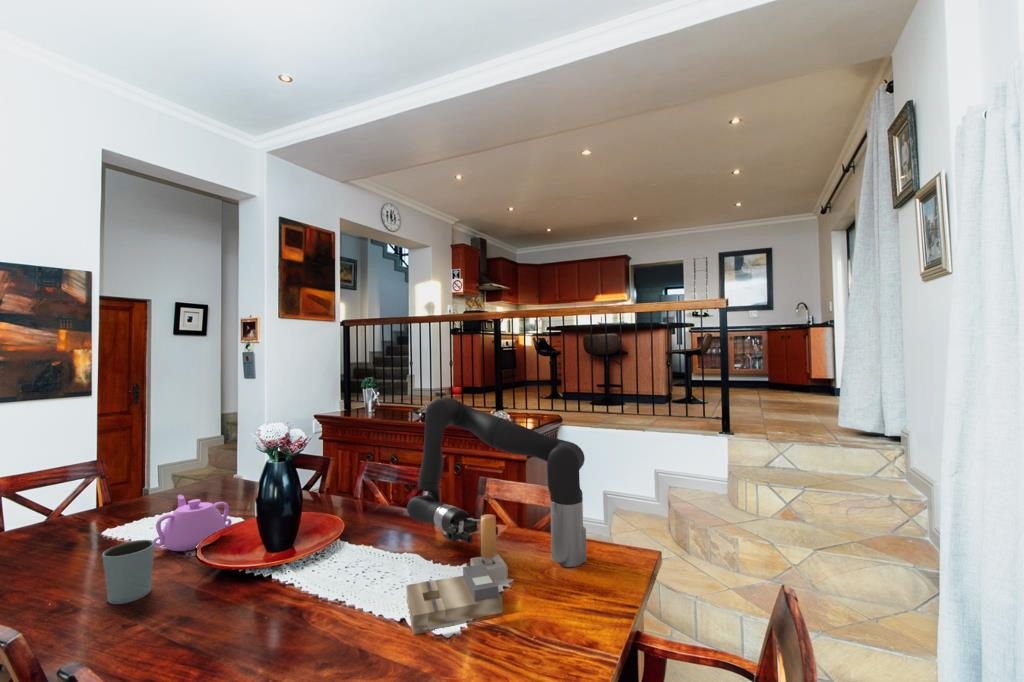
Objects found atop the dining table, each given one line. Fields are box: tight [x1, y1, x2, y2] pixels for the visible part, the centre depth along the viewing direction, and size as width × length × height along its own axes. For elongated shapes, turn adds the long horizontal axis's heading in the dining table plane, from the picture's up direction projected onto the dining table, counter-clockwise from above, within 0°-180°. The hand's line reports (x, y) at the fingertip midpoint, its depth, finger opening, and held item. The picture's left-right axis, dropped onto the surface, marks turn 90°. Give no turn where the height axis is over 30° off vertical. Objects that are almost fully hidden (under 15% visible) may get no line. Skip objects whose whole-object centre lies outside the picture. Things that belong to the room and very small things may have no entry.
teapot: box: [152, 494, 233, 552], centre depth 151 cm, size 22×22×14 cm
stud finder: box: [462, 564, 499, 601], centre depth 111 cm, size 6×12×3 cm, turn 18°
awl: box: [480, 513, 497, 566], centre depth 125 cm, size 4×4×15 cm
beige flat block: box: [406, 575, 504, 635], centre depth 109 cm, size 20×14×4 cm
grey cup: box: [101, 539, 155, 605], centre depth 118 cm, size 10×10×12 cm
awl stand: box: [470, 553, 509, 581], centre depth 124 cm, size 8×8×4 cm
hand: (484, 535), depth 126 cm, fingers open, 8 cm apart
